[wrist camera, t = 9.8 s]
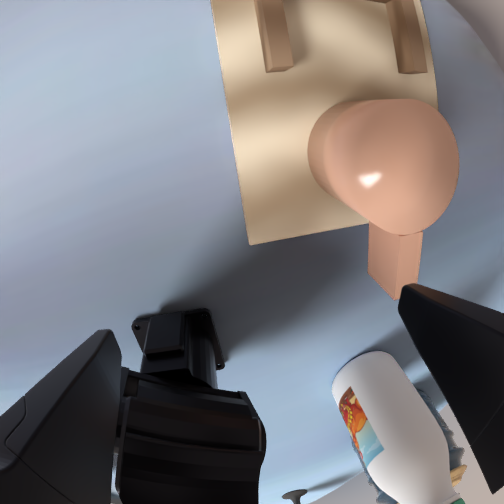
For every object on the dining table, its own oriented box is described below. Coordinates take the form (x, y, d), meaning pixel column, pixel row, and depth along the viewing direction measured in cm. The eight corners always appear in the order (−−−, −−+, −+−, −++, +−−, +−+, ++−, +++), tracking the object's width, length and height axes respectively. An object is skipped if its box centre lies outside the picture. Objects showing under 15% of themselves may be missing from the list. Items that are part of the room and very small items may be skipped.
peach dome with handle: (301, 103, 17) (346, 97, 11) (393, 101, 18) (457, 103, 12) (315, 261, 22) (353, 312, 16) (396, 243, 22) (446, 283, 16)
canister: (438, 393, 36) (493, 474, 20) (380, 444, 40) (419, 524, 24) (398, 380, 32) (466, 489, 16) (330, 439, 35) (370, 544, 19)
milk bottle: (354, 344, 27) (454, 520, 9) (404, 351, 30) (498, 488, 12) (317, 396, 30) (381, 557, 12) (368, 398, 32) (436, 529, 14)
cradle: (431, 206, 23) (453, 218, 20) (247, 239, 21) (254, 258, 19) (412, 2, 15) (434, -6, 12) (208, -11, 14) (209, -30, 11)
